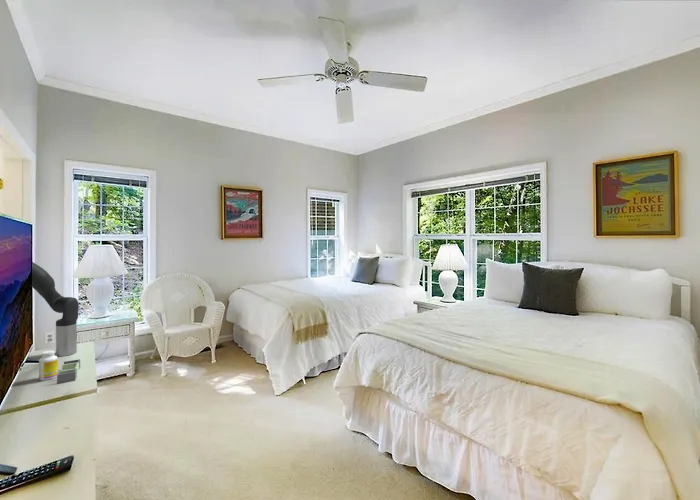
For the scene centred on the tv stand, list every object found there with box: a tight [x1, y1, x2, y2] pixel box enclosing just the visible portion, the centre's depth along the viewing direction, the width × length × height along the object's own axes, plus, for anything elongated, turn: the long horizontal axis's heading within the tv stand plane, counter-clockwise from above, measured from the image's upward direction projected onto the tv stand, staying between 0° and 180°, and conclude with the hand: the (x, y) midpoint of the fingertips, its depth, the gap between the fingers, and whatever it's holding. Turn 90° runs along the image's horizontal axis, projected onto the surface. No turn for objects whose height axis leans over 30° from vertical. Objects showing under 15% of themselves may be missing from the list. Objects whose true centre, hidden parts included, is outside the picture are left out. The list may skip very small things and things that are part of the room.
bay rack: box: [56, 359, 81, 384], centre depth 163 cm, size 20×6×4 cm, turn 34°
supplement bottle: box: [38, 349, 59, 381], centre depth 159 cm, size 7×7×13 cm
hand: (10, 338), depth 153 cm, fingers closed
